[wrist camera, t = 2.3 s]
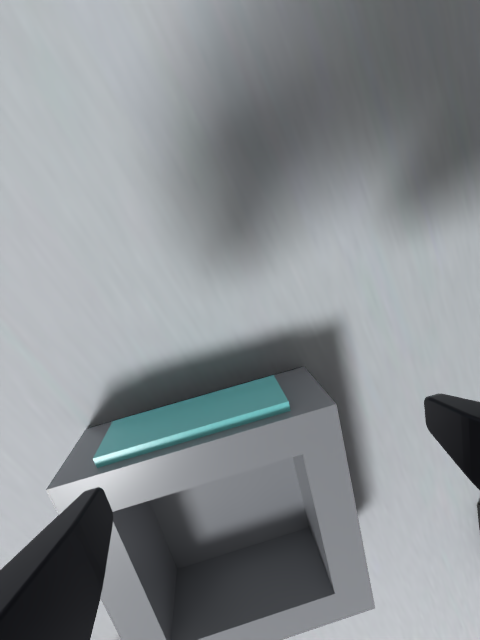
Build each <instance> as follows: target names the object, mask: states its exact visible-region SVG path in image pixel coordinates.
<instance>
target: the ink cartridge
mask: <svg viewBox="0 0 480 640" xmlns="http://www.w3.org/2000/svg"><path fill="white" fill-rule="evenodd" d="M477 508H478V519H479V528H480V504H479V505H477Z"/></svg>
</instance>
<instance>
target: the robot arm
mask: <svg viewBox="0 0 480 640" xmlns="http://www.w3.org/2000/svg"><path fill="white" fill-rule="evenodd" d="M424 407H425V418H426V425H427V428H428V430H429V431H430V433H431V434H432V435H433V436H434V437H435V439H436V440H437V441H438V442H439V444H440V445H441V446H442V447H443V448H444V450H445V451H446V452H447V453H448V454H449V456H450V457H451V458H452V459H453V460H454V462H455V463H456V464H457V465H458V466H459V468H460V469H461V470H462V471H463V472H464V474H465V475H466V476H467V477H468V478H469V479H470V480H471V482H472V483H473V484H474V485H475V486H476V487H477V488H478V489H479V490H480V402H477V401H473V400H468V399H463V398H459V397H454V396H450V395H445V394H435V395H432V396H428V397H426V398H425V400H424ZM112 526H113V511H112V509H111V506H110V504H109V501H108V499H107V497H106V494H105V492H104V490H103V489H102V488H100V487H97V488H93V489H90V490H86V491H84V492H83V493H82V494H81V495H80V496H79V497H78V498H76V499H75V500H74V501H73V502H72V503H71V504H70V505H69V506H68V507H67V508H66V509H65V510H64V511H63V512H62V513H61V514H59V515H58V516H57V517H56V518H55V519H54V520H53V521H52V522H51V523H50V524H49V525H48V526H47V527H46V528H45V529H44V530H43V531H41V532H40V533H39V534H38V535H37V536H36V537H35V538H34V539H33V540H32V541H31V542H30V543H29V544H28V545H27V546H26V547H24V548H23V549H22V550H21V551H20V552H19V553H18V554H17V555H16V556H15V557H14V558H13V559H12V560H11V561H10V562H9V563H7V564H6V565H5V566H4V567H3V568H2V569H1V570H0V640H90V637H91V633H92V629H93V625H94V621H95V617H96V613H97V609H98V605H99V601H100V597H101V593H102V588H103V583H104V577H105V571H106V564H107V558H108V552H109V545H110V539H111V533H112Z"/></svg>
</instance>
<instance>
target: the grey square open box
mask: <svg viewBox="0 0 480 640" xmlns="http://www.w3.org/2000/svg"><path fill="white" fill-rule="evenodd" d="M97 487H100V488H102V489H103V490H104V492H105V494H106V497H107V499H108V501H109V504H110V506H111V509H112V511H113V526H112V533H111V539H110V545H109V552H108V558H107V564H106V571H105V577H104V583H103V588H102V593H101V597H100V598H101V600H102V602H103V604H104V606H105V608H106V610H107V612H108V614H109V616H110V618H111V620H112V622H113V624H114V626H115V628H116V630H117V632H118V634H119V636H120V638H121V640H283V639H286V638H289V637H292V636H295V635H298V634H301V633H304V632H306V631H309V630H312V629H315V628H318V627H321V626H324V625H327V624H330V623H333V622H336V621H339V620H342V619H345V618H348V617H351V616H354V615H357V614H360V613H363V612H365V611H368V610H371V609H374V608H375V605H374V600H373V594H372V589H371V584H370V578H369V573H368V568H367V563H366V557H365V552H364V547H363V541H362V536H361V531H360V525H359V520H358V515H357V510H356V504H355V499H354V494H353V488H352V483H351V478H350V472H349V467H348V462H347V457H346V451H345V446H344V441H343V435H342V430H341V425H340V419H339V414H338V409H337V404H336V403H335V402H334V400H333V399H332V398H331V397H330V396H329V395H328V394H327V392H326V391H325V390H324V389H323V388H322V387H321V385H320V384H319V383H318V382H317V381H316V380H315V379H314V377H313V376H312V375H311V374H310V373H309V372H308V370H307V369H306V368H305V367H300V368H297V369H293V370H290V371H286V372H283V373H279V374H276V375H272V376H268V377H265V378H261V379H258V380H254V381H251V382H247V383H244V384H240V385H237V386H233V387H230V388H226V389H223V390H219V391H216V392H212V393H209V394H205V395H202V396H198V397H195V398H192V399H188V400H185V401H181V402H178V403H174V404H171V405H167V406H164V407H160V408H157V409H153V410H150V411H146V412H143V413H139V414H136V415H132V416H129V417H125V418H122V419H118V420H115V421H112V422H109V423H105V424H102V425H98V426H95V427H91V428H88V429H86V430H85V431H84V433H83V435H82V436H81V438H80V439H79V441H78V442H77V444H76V445H75V447H74V448H73V450H72V451H71V453H70V454H69V456H68V457H67V459H66V460H65V462H64V463H63V465H62V466H61V468H60V469H59V471H58V472H57V474H56V476H55V477H54V479H53V480H52V482H51V483H50V485H49V486H48V488H47V489H46V491H47V493H48V495H49V497H50V499H51V501H52V503H53V505H54V507H55V509H56V511H57V513H58V515H59V514H61V513H62V512H63V511H64V510H65V509H66V508H67V507H68V506H69V505H70V504H71V503H72V502H73V501H74V500H75V499H76V498H78V497H79V496H80V495H81V494H82V493H83V492H84V491H86V490H90V489H93V488H97Z"/></svg>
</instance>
